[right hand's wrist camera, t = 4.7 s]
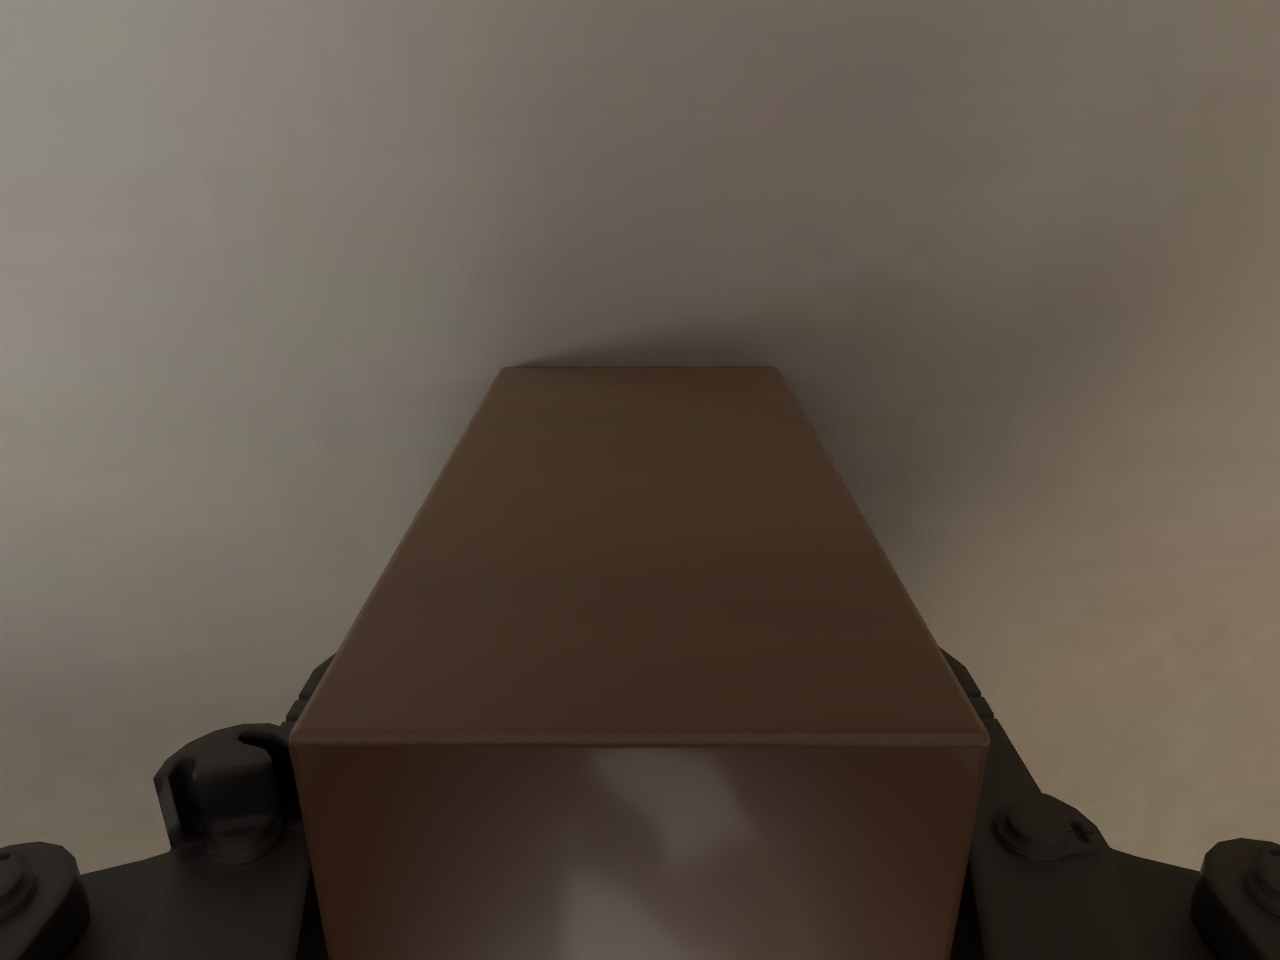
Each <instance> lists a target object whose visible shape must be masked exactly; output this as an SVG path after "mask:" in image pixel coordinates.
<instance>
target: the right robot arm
mask: <svg viewBox="0 0 1280 960" xmlns="http://www.w3.org/2000/svg"><path fill="white" fill-rule="evenodd" d="M938 647H939V646H938ZM939 648H940V647H939ZM940 650H941V652H942V654H943V655H944V657H945V659H946V660H947V662H948V664H949V666H950V667H951V669H952V671H953V673H954V674H955V676H956V678H957V680H958V681H959V683H960V685H961V686H962V688H963V690H964V692H965V693H966V695H967V697H968V699H969V700H970V702H971V704H972V706H973V707H974V709H975V711H976V713H977V714H978V716H979V718H980V719H981V721H982V723H983V725H984V726H985V728H986V730H987V732H988V735H989V738H990V743H989V750H988V756H987V761H986V766H985V772H984V777H983V782H982V788H981V793H980V799H979V804H978V809H977V815H976V820H975V825H974V831H973V836H972V842H971V847H970V852H969V858H968V863H967V868H966V874H965V879H964V885H963V890H962V895H961V901H960V906H959V911H958V917H957V922H956V928H955V933H954V938H953V944H952V949H951V954H950V960H1280V845H1279V844H1276V843H1273V842H1269V841H1261V840H1253V839H1245V838H1238V839H1233V840H1228V841H1222V842H1218V843H1217V844H1216V845H1215V846H1214V847H1213V848H1212V849H1210V850H1209V851H1208V852H1207V853H1206V854H1205V857H1204V860H1203V863H1202V866H1201V870H1200V872H1199V871H1195V870H1191V869H1187V868H1182V867H1178V866H1174V865H1170V864H1166V863H1161V862H1157V861H1153V860H1149V859H1144V858H1140V857H1136V856H1133V855H1130V854H1127V853H1123V852H1120V851H1117V850H1114V849H1112V848H1109V846H1108V844H1107V842H1106V841H1105V839H1104V838H1103V836H1102V834H1101V833H1100V831H1099V830H1098V828H1097V826H1096V825H1094V824H1093V823H1092V822H1091V821H1090V820H1089V819H1087V818H1086V817H1085V816H1084V815H1083V814H1081V813H1080V812H1079V811H1078V810H1077V809H1076V808H1074V807H1072V806H1070V805H1068V804H1066V803H1064V802H1062V801H1060V800H1058V799H1056V798H1054V797H1052V796H1050V795H1047V794H1043V793H1041V791H1040V789H1039V788H1038V786H1037V784H1036V783H1035V781H1034V779H1033V778H1032V776H1031V774H1030V773H1029V771H1028V769H1027V768H1026V766H1025V764H1024V763H1023V761H1022V760H1021V758H1020V756H1019V755H1018V753H1017V751H1016V750H1015V748H1014V746H1013V745H1012V743H1011V741H1010V740H1009V738H1008V736H1007V735H1006V733H1005V731H1004V730H1003V728H1002V727H1001V725H1000V723H999V722H998V720H997V719H994V716H993V715H994V713H993V712H992V710H991V708H990V707H989V705H988V703H987V702H986V700H985V698H984V697H981V692H980V690H979V689H978V687H977V685H976V684H975V682H974V680H973V679H972V677H971V675H970V674H969V672H968V670H967V669H966V667H965V666H964V665H962V664H961V663H960V662H958V661H957V660H956V659H954V658H953V657H952V656H951V655H949V654H948V653H947V652H945V651H944V650H943V649H941V648H940ZM336 653H337V652H336ZM336 653H335V654H334V655H333V656H331V657H330V658H329V659H327V660H326V661H325V662H324V663H322V664H321V665H320V666H318V667H317V668H316V669H314V671H313V673H312V674H311V676H310V678H309V679H308V681H307V683H306V684H305V686H304V688H303V689H302V691H301V693H300V694H299V700H296V701H295V703H294V704H293V706H292V708H291V709H290V711H289V713H288V714H287V716H286V722H282V724H281V726H276V725H273V724H269V723H268V724H241V725H237V726H233V727H229V728H224V729H220V730H216V731H214V732H211V733H209V734H207V735H205V736H203V737H200V738H198V739H196V740H194V741H192V742H190V743H188V744H186V745H185V746H184V747H183V748H181V749H180V750H179V751H177V752H176V753H175V754H173V755H172V756H171V757H169V758H168V759H167V760H166V761H165V762H164V764H163V765H162V767H161V768H160V770H159V771H158V772H157V774H156V775H155V777H154V778H153V780H154V783H155V787H156V791H157V795H158V799H159V802H160V806H161V810H162V814H163V818H164V821H165V825H166V829H167V833H168V837H169V840H170V844H171V850H170V851H169V852H167V853H164V854H161V855H158V856H155V857H151V858H148V859H145V860H141V861H137V862H133V863H129V864H125V865H120V866H116V867H112V868H108V869H104V870H99V871H95V872H91V873H87V874H83V875H80V872H79V869H78V866H77V863H76V860H75V857H74V856H72V855H71V854H70V853H69V852H68V851H67V850H66V849H65V848H64V847H63V846H60V845H55V844H49V843H44V842H32V843H24V844H16V845H9V846H6V847H4V848H1V849H0V960H329V957H328V952H327V946H326V941H325V936H324V930H323V925H322V920H321V914H320V909H319V903H318V898H317V893H316V887H315V882H314V877H313V871H312V866H311V860H310V855H309V850H308V844H307V839H306V834H305V828H304V823H303V817H302V812H301V807H300V801H299V796H298V791H297V785H296V780H295V774H294V769H293V764H292V758H291V753H290V748H289V736H290V733H291V730H292V729H293V727H294V725H295V723H296V722H297V720H298V718H299V717H300V715H301V713H302V711H303V710H304V708H305V706H306V704H307V703H308V701H309V699H310V698H311V696H312V694H313V692H314V691H315V689H316V687H317V686H318V684H319V682H320V680H321V679H322V677H323V675H324V673H325V672H326V670H327V668H328V667H329V665H330V663H331V661H332V660H333V658H334V656H335V655H336Z"/></svg>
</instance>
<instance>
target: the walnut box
mask: <svg viewBox="0 0 1280 960" xmlns="http://www.w3.org/2000/svg"><path fill="white" fill-rule="evenodd" d="M989 743H990V738H989V735H988V732H987V730H986V728H985V726H984V725H983V723H982V721H981V719H980V718H979V716H978V714H977V713H976V711H975V709H974V707H973V706H972V704H971V702H970V700H969V699H968V697H967V695H966V693H965V692H964V690H963V688H962V686H961V685H960V683H959V681H958V680H957V678H956V676H955V674H954V673H953V671H952V669H951V667H950V666H949V664H948V662H947V660H946V659H945V657H944V655H943V654H942V652H941V650H940V648H939V647H938V645H937V643H936V641H935V640H934V638H933V636H932V634H931V633H930V631H929V629H928V628H927V626H926V624H925V622H924V621H923V619H922V617H921V615H920V614H919V612H918V610H917V608H916V607H915V605H914V603H913V602H912V600H911V598H910V596H909V595H908V593H907V591H906V589H905V588H904V586H903V584H902V582H901V581H900V579H899V577H898V575H897V574H896V572H895V570H894V569H893V567H892V565H891V563H890V562H889V560H888V558H887V556H886V555H885V553H884V551H883V549H882V548H881V546H880V544H879V543H878V541H877V539H876V537H875V536H874V534H873V532H872V530H871V529H870V527H869V525H868V523H867V522H866V520H865V518H864V517H863V515H862V513H861V511H860V510H859V508H858V506H857V504H856V503H855V501H854V499H853V497H852V496H851V494H850V492H849V491H848V489H847V487H846V485H845V484H844V482H843V480H842V478H841V477H840V475H839V473H838V471H837V470H836V468H835V466H834V464H833V463H832V461H831V459H830V458H829V456H828V454H827V452H826V451H825V449H824V447H823V445H822V444H821V442H820V440H819V438H818V437H817V435H816V433H815V432H814V430H813V428H812V426H811V425H810V423H809V421H808V419H807V418H806V416H805V414H804V412H803V411H802V409H801V407H800V406H799V404H798V402H797V400H796V399H795V397H794V395H793V393H792V392H791V390H790V388H789V386H788V385H787V383H786V381H785V380H784V378H783V376H782V374H781V373H780V371H779V369H777V368H775V367H505V368H502V369H501V370H500V372H499V374H498V375H497V377H496V379H495V380H494V382H493V384H492V386H491V387H490V389H489V391H488V393H487V394H486V396H485V398H484V399H483V401H482V403H481V405H480V406H479V408H478V410H477V412H476V413H475V415H474V417H473V418H472V420H471V422H470V424H469V425H468V427H467V429H466V430H465V432H464V434H463V436H462V437H461V439H460V441H459V443H458V444H457V446H456V448H455V449H454V451H453V453H452V455H451V456H450V458H449V460H448V461H447V463H446V465H445V467H444V468H443V470H442V472H441V474H440V475H439V477H438V479H437V480H436V482H435V484H434V486H433V487H432V489H431V491H430V493H429V494H428V496H427V498H426V499H425V501H424V503H423V505H422V506H421V508H420V510H419V511H418V513H417V515H416V517H415V518H414V520H413V522H412V524H411V525H410V527H409V529H408V530H407V532H406V534H405V536H404V537H403V539H402V541H401V542H400V544H399V546H398V548H397V549H396V551H395V553H394V555H393V556H392V558H391V560H390V561H389V563H388V565H387V567H386V568H385V570H384V572H383V574H382V575H381V577H380V579H379V580H378V582H377V584H376V586H375V587H374V589H373V591H372V592H371V594H370V596H369V598H368V599H367V601H366V603H365V605H364V606H363V608H362V610H361V611H360V613H359V615H358V617H357V618H356V620H355V622H354V623H353V625H352V627H351V629H350V630H349V632H348V634H347V636H346V637H345V639H344V641H343V642H342V644H341V646H340V648H339V649H338V651H337V653H336V655H335V656H334V658H333V660H332V661H331V663H330V665H329V667H328V668H327V670H326V672H325V673H324V675H323V677H322V679H321V680H320V682H319V684H318V686H317V687H316V689H315V691H314V692H313V694H312V696H311V698H310V699H309V701H308V703H307V704H306V706H305V708H304V710H303V711H302V713H301V715H300V717H299V718H298V720H297V722H296V723H295V725H294V727H293V729H292V730H291V733H290V736H289V748H290V753H291V758H292V764H293V769H294V774H295V780H296V785H297V791H298V796H299V801H300V807H301V812H302V817H303V823H304V828H305V834H306V839H307V844H308V850H309V855H310V860H311V866H312V871H313V877H314V882H315V887H316V893H317V898H318V903H319V909H320V914H321V920H322V925H323V930H324V936H325V941H326V946H327V952H328V957H329V960H950V954H951V949H952V944H953V938H954V933H955V928H956V922H957V917H958V911H959V906H960V901H961V895H962V890H963V885H964V879H965V874H966V868H967V863H968V858H969V852H970V847H971V842H972V836H973V831H974V825H975V820H976V815H977V809H978V804H979V799H980V793H981V788H982V782H983V777H984V772H985V766H986V761H987V756H988V750H989Z"/></svg>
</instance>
